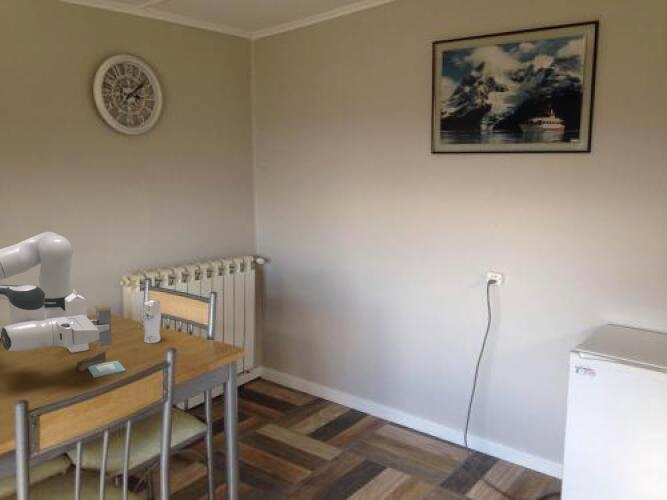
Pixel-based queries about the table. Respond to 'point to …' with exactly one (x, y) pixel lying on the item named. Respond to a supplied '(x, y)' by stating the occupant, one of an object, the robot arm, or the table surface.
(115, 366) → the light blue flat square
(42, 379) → the table surface
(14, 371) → the table surface
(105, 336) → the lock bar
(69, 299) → the milk
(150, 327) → the beer glass
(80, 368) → the dark brown bar
